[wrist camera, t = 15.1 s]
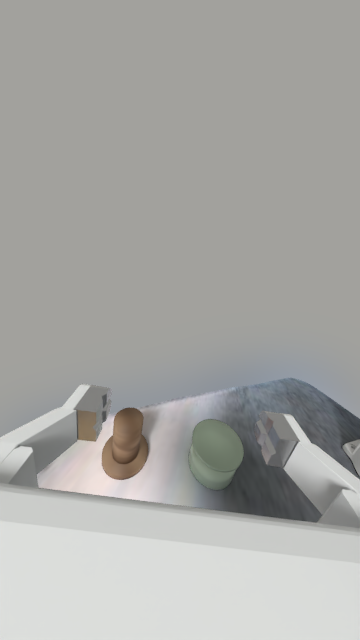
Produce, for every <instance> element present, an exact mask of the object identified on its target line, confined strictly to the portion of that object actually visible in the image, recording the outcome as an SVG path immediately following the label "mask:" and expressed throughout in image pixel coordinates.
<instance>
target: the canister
mask: <svg viewBox="0 0 360 640" xmlns="http://www.w3.org/2000/svg"><path fill="white" fill-rule="evenodd" d="M243 455H244V451H243V446H242V443H241V440H240V438H239V437H238V435H237V434H236V433H235V431H234V430H233V429H232V428H230V427H229V426H228V425H226V424H225V423H223V422H221V421H218V420H213V419H208V420H203V421H201V422H200V423H198V424H197V425H196V427H195V429H194V431H193V436H192V445H191V449H190V452H189V466H190V469H191V471H192V473H193V475H194V477H195V478H196V479H197V480H198V482H200V483H201V484H202V485H203V486H205V487H207V488H209V489H212V490H221V489H224V488H226V487H227V486H228V485H229V484H230V482H231V481H232V478H233V476H234V473H235V471H236V469H237V468H238V467H239V466H240V464H241V462H242V459H243Z"/></svg>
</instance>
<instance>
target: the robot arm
mask: <svg viewBox="0 0 360 640" xmlns="http://www.w3.org/2000/svg"><path fill="white" fill-rule="evenodd" d="M111 394H112V389H111V388H106V387H100V386H94V385H87V384H81V385H80V386H79V387H78V388H77V389H76V391H75V392H74V393H73V394H72V396H71V397H70V398H69V399H68V400H67V402H66V403H65V404H64V405H63V407H62V408H56V409H55V410H53V411H51V412H49V413H47V414H45V415H43V416H41V417H39V418H37V419H35V420H33V421H31V422H29V423H27V424H25V425H24V426H22V427H20V428H18V429H16V430H14V431H12V432H10V433H8V434H6V435H4V436H2V437H0V640H360V480H359V479H358V478H357V477H355V476H354V475H353V474H352V473H350V472H349V471H348V470H347V469H345V468H344V467H343V466H342V465H340V464H339V463H338V462H336V461H335V460H334V459H333V458H331V457H330V456H329V455H328V454H326V453H325V452H324V451H323V450H321V449H320V448H319V447H317V446H316V445H315V444H311V442H310V441H309V439H308V438H307V436H306V435H305V433H304V432H303V430H302V429H301V428H300V426H299V425H298V423H297V422H296V420H295V419H294V417H293V416H292V415H290V414H283V413H275V412H268V411H262V412H261V413H260V415H259V417H260V419H261V420H259V421H258V422H256V425H255V437H256V440H257V442H258V443H259V444H260V445H261V446H262V449H261V452H262V455H263V457H264V460H265V462H266V465H270V466H276V467H282V468H284V470H285V471H286V472H287V474H288V475H289V476H290V477H291V478H292V480H293V481H294V482H295V483H296V484H297V485H298V487H299V488H300V489H301V490H302V491H303V493H304V494H305V495H306V496H307V497H308V499H309V500H310V501H311V502H312V503H313V504H314V506H315V507H316V508H317V509H318V510H319V512H320V513H321V514H322V516H321V518H320V519H319V520H318V522H317V523H314V522H306V521H298V520H290V519H282V518H274V517H266V516H259V515H251V514H243V513H235V512H227V511H219V510H211V509H203V508H195V507H187V506H179V505H171V504H163V503H155V502H147V501H139V500H131V499H123V498H115V497H107V496H99V495H92V494H84V493H76V492H68V491H60V490H52V489H44V488H39V487H38V481H37V474H38V473H39V472H41V471H42V470H43V469H44V468H45V467H47V466H48V465H49V464H50V463H51V462H53V461H54V460H55V459H56V458H57V457H59V456H60V455H61V454H62V453H63V452H65V451H66V450H67V449H68V448H69V447H71V446H72V445H73V444H74V443H75V442H77V440H86V441H96V440H97V438H98V436H99V434H100V432H101V430H102V423H103V422H105V421H106V419H107V417H108V415H109V412H110V408H111V400H110V399H109V398H110V396H111ZM342 447H343V449H344V451H345V452H346V454H347V455H348V456H349V457H350V459H351V460H352V462H353V465H354V467H355V469H356V471H357V473H358V475H359V476H360V439H359V440H356V441H352V442H349V443H346V444H344V445H343V446H342Z"/></svg>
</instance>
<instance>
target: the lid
mask: <svg viewBox="0 0 360 640" xmlns="http://www.w3.org/2000/svg"><path fill="white" fill-rule="evenodd" d="M142 425H143V415H142V413H141V412H140V411H139V410H138V409H135V408H125V409H123V410H121V411H119V412H118V413H117V414H116V416H115V418H114V429H113V436H112V437H110V438H109V440H108V441H107V442H106V444H105V446H104V448H103V452H102V466H103V469H104V471H105V472H106V474H107V475H108V476H110V477H111V478H114V479H117V480H124V479H128V478H131V477H133V476H134V475H136V474H137V473H138V472H139V471H140V470H141V469H142V467H143V466H144V464H145V462H146V459H147V453H148V444H147V441H146V439H145V437H144V436H143V435H142V434H141V433H142Z"/></svg>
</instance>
